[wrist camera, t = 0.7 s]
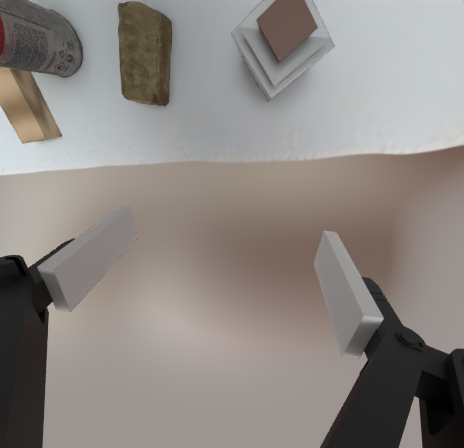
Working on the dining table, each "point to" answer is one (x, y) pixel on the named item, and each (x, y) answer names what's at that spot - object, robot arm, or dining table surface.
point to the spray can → (37, 39)
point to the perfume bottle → (281, 42)
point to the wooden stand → (25, 106)
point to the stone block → (144, 53)
